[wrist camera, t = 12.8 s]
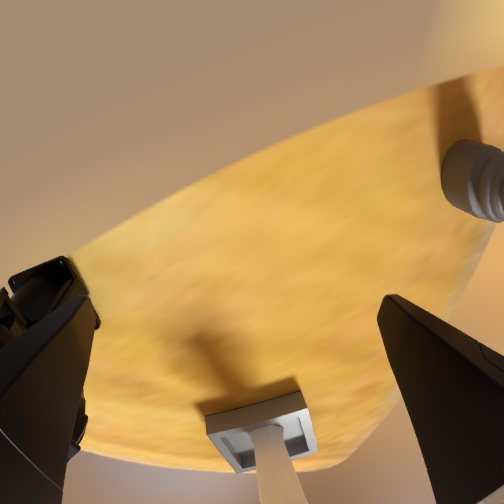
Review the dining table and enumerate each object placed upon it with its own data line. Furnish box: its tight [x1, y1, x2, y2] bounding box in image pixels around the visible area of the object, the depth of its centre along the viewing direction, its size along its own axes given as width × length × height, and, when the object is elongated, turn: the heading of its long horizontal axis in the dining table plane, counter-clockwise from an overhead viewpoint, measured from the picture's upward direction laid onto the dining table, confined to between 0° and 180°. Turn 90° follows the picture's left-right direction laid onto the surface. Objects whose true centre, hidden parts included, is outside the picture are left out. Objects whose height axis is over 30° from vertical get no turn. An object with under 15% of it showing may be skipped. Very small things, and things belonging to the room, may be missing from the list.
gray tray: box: [205, 390, 319, 473], centre depth 30 cm, size 10×10×2 cm
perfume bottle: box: [248, 425, 308, 504], centre depth 23 cm, size 5×4×15 cm
